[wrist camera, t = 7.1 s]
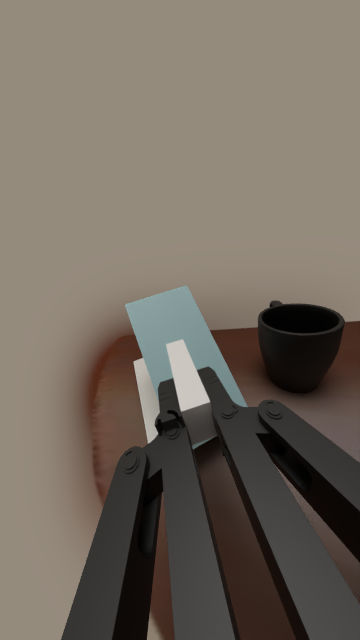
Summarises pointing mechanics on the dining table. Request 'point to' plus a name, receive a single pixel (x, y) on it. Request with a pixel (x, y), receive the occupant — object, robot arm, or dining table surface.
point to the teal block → (177, 338)
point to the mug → (299, 343)
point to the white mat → (147, 398)
